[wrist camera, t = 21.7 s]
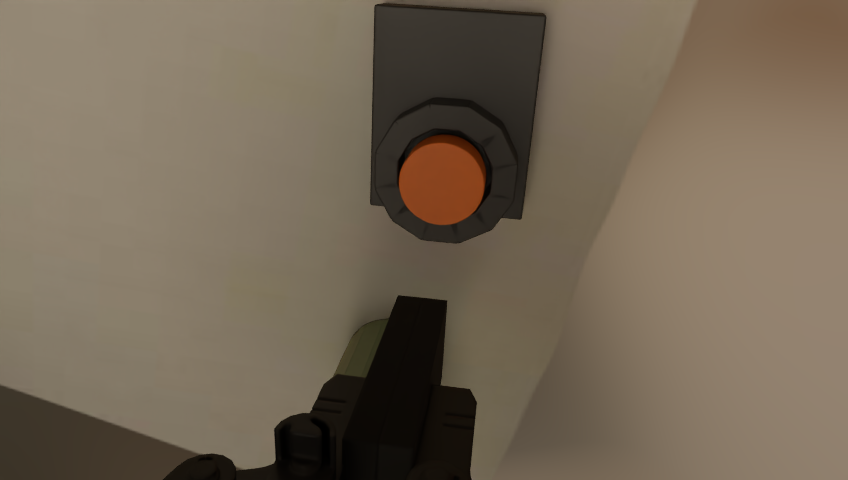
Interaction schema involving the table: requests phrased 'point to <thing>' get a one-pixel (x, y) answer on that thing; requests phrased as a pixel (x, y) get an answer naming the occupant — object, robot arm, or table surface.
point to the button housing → (455, 103)
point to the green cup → (361, 349)
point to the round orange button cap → (443, 179)
